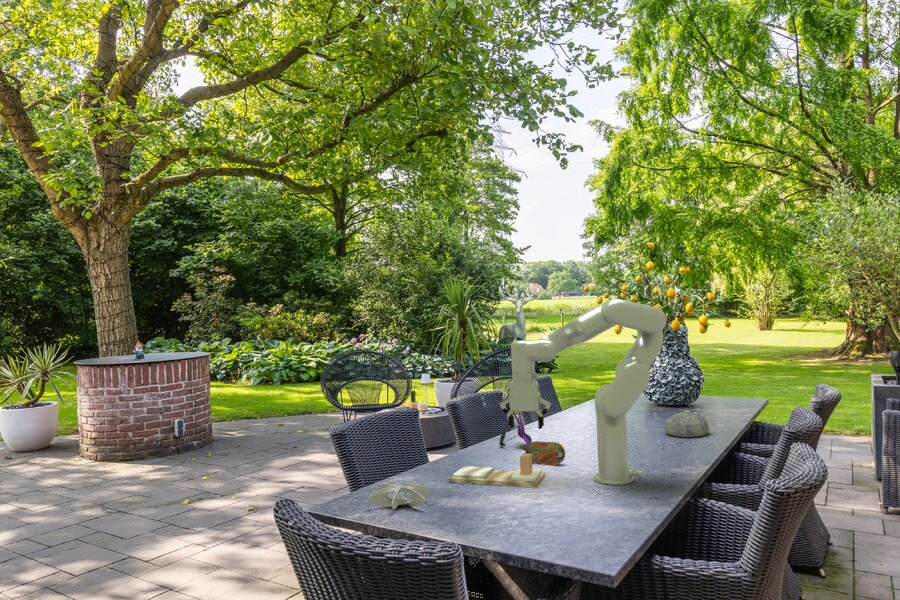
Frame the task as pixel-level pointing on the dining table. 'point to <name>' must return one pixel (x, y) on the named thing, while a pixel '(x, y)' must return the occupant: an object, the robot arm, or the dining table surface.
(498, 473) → the ticket pad
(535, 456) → the tin
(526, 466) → the stub
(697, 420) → the decorative stone
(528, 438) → the flower
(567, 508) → the dining table surface
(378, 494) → the sculpture
